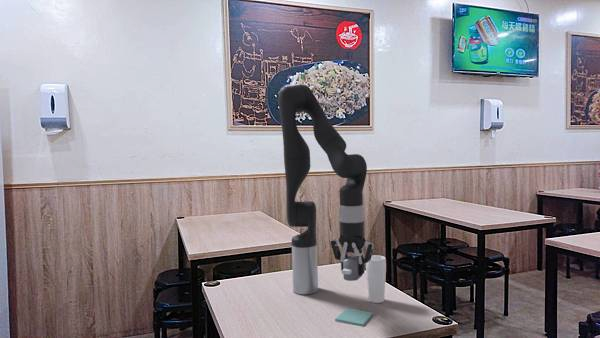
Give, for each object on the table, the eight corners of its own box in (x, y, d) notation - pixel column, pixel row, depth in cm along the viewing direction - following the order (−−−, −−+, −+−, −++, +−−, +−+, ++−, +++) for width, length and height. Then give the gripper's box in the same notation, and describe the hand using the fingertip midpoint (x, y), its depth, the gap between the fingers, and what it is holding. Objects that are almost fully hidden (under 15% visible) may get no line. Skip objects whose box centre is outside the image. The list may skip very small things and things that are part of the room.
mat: (346, 309, 134) (346, 308, 134) (372, 314, 130) (372, 312, 130) (335, 320, 126) (335, 318, 126) (363, 326, 122) (363, 324, 122)
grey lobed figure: (350, 272, 131) (350, 254, 131) (363, 274, 129) (363, 255, 129) (338, 281, 123) (338, 261, 123) (352, 283, 121) (352, 263, 121)
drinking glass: (390, 300, 141) (389, 257, 140) (379, 306, 136) (378, 261, 135) (373, 295, 146) (372, 254, 145) (362, 301, 141) (361, 258, 140)
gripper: (378, 218, 126) (379, 273, 127) (335, 216, 133) (336, 268, 134) (369, 223, 119) (371, 281, 120) (325, 220, 126) (326, 275, 127)
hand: (352, 274), depth 127 cm, fingers closed on grey lobed figure, 4 cm apart
